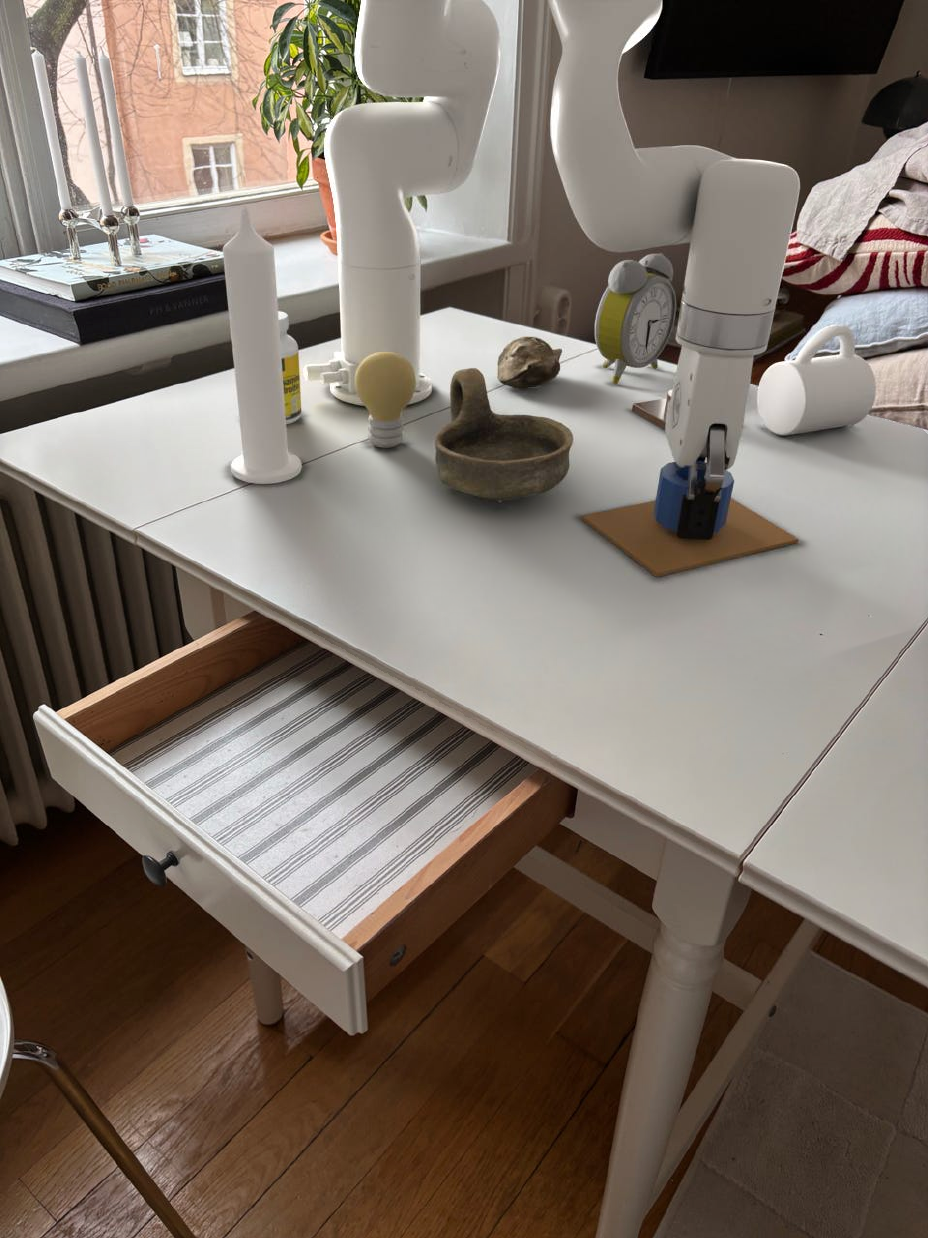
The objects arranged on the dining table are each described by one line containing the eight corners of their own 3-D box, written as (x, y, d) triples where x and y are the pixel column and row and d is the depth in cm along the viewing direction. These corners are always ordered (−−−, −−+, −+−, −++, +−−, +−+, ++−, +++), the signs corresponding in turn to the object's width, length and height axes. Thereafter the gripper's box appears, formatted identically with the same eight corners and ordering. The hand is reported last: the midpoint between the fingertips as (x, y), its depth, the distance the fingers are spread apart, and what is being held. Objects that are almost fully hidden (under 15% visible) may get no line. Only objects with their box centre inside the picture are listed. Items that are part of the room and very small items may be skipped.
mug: (750, 421, 114) (770, 319, 108) (817, 411, 118) (840, 312, 112) (797, 446, 108) (822, 340, 102) (866, 435, 112) (894, 331, 105)
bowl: (468, 532, 87) (472, 429, 82) (399, 461, 101) (399, 368, 95) (597, 510, 92) (609, 411, 87) (516, 444, 106) (522, 355, 100)
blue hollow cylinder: (682, 540, 85) (690, 494, 83) (640, 510, 90) (647, 466, 88) (738, 527, 88) (748, 482, 85) (695, 499, 92) (703, 456, 90)
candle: (308, 459, 100) (294, 202, 87) (292, 486, 94) (273, 216, 81) (243, 454, 101) (218, 198, 88) (222, 481, 95) (192, 211, 82)
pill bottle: (249, 430, 107) (239, 325, 100) (241, 410, 112) (231, 309, 106) (307, 425, 108) (301, 321, 102) (296, 405, 114) (290, 306, 107)
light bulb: (425, 439, 106) (426, 349, 101) (398, 459, 101) (397, 366, 96) (375, 428, 108) (373, 340, 103) (345, 447, 103) (342, 356, 98)
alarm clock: (620, 389, 123) (635, 267, 115) (577, 376, 126) (589, 257, 118) (669, 370, 130) (686, 254, 122) (627, 358, 134) (641, 245, 126)
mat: (656, 577, 82) (657, 573, 82) (581, 518, 91) (581, 515, 90) (798, 542, 88) (799, 539, 88) (714, 491, 97) (715, 487, 97)
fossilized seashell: (531, 382, 116) (582, 378, 123) (519, 328, 116) (570, 327, 123) (488, 399, 122) (539, 395, 129) (476, 348, 121) (527, 347, 128)
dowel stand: (676, 437, 109) (687, 368, 105) (631, 411, 116) (640, 345, 112) (738, 426, 113) (751, 359, 108) (690, 401, 119) (701, 337, 115)
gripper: (666, 296, 87) (639, 478, 96) (692, 355, 72) (657, 562, 82) (749, 301, 86) (714, 483, 96) (793, 360, 72) (746, 568, 81)
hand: (688, 518), depth 89 cm, fingers closed on blue hollow cylinder, 6 cm apart
